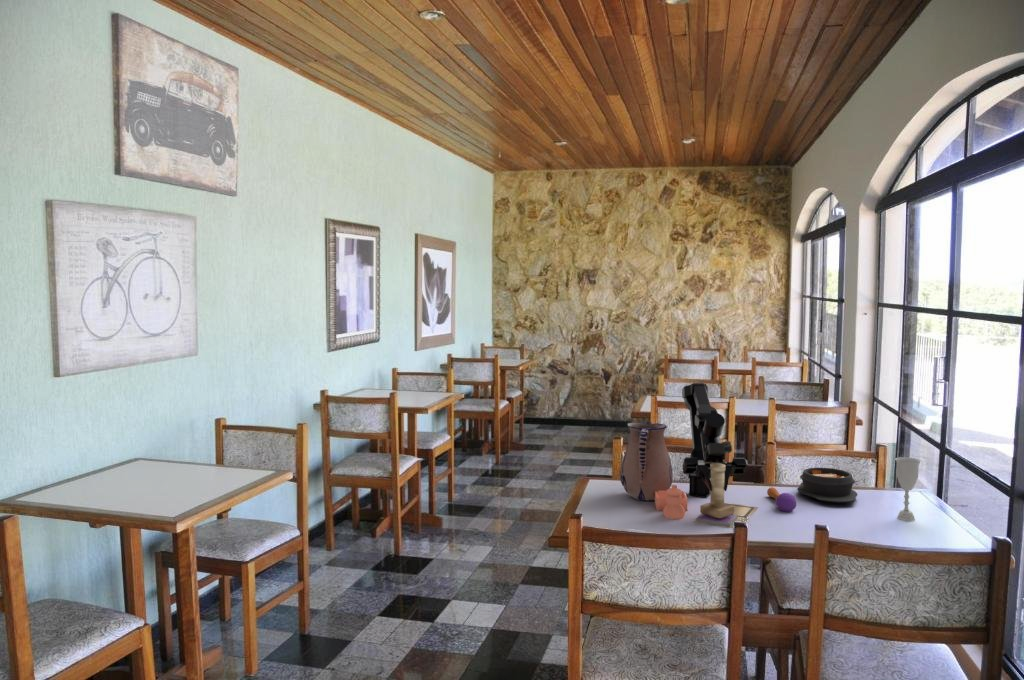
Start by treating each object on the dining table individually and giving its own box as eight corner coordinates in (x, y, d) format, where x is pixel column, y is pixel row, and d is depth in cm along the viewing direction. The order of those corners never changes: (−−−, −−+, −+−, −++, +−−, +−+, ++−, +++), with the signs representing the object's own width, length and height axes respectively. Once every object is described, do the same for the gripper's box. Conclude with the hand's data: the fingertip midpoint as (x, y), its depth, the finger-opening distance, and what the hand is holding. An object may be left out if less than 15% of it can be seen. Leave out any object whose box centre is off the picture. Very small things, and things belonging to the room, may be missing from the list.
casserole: (788, 486, 259) (788, 463, 258) (842, 487, 257) (843, 464, 256) (809, 507, 234) (809, 481, 233) (870, 508, 232) (870, 482, 232)
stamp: (700, 513, 221) (700, 464, 219) (714, 509, 225) (715, 461, 224) (719, 519, 215) (720, 468, 214) (734, 514, 219) (734, 465, 218)
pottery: (654, 502, 239) (654, 473, 239) (684, 503, 238) (684, 474, 238) (658, 519, 222) (659, 488, 221) (690, 520, 220) (691, 488, 220)
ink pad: (695, 521, 218) (696, 518, 218) (705, 513, 227) (705, 509, 227) (729, 527, 213) (729, 523, 213) (738, 518, 222) (738, 514, 222)
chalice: (896, 513, 226) (897, 456, 225) (921, 517, 222) (922, 459, 221) (890, 519, 221) (892, 460, 219) (916, 523, 216) (917, 463, 215)
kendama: (782, 485, 246) (800, 497, 226) (779, 502, 246) (796, 516, 226) (764, 481, 247) (780, 493, 227) (761, 499, 247) (777, 512, 227)
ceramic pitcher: (669, 491, 254) (670, 419, 252) (676, 508, 233) (676, 431, 232) (619, 489, 256) (619, 419, 255) (620, 507, 235) (620, 430, 234)
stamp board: (692, 523, 218) (692, 521, 218) (714, 502, 240) (714, 500, 240) (739, 530, 211) (739, 528, 211) (758, 508, 233) (758, 506, 233)
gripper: (684, 431, 223) (690, 476, 213) (746, 431, 221) (755, 476, 211) (680, 451, 231) (685, 495, 221) (740, 451, 230) (748, 495, 220)
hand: (718, 490), depth 218 cm, fingers closed on stamp, 4 cm apart
